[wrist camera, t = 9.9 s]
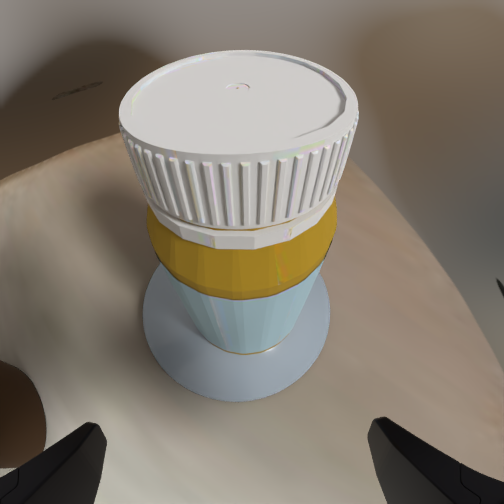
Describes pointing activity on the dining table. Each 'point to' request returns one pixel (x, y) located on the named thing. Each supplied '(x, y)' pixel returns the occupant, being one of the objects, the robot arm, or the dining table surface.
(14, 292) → the dining table surface
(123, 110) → the bottle
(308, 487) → the dining table surface
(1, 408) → the olive oil
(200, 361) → the stand
